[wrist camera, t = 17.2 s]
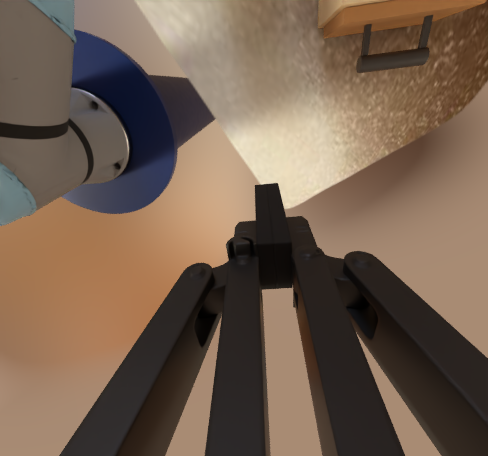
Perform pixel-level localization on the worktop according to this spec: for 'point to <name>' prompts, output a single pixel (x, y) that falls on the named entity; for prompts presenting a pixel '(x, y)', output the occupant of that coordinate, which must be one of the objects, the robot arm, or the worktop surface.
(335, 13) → the cabinet
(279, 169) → the worktop surface
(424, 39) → the drawer
